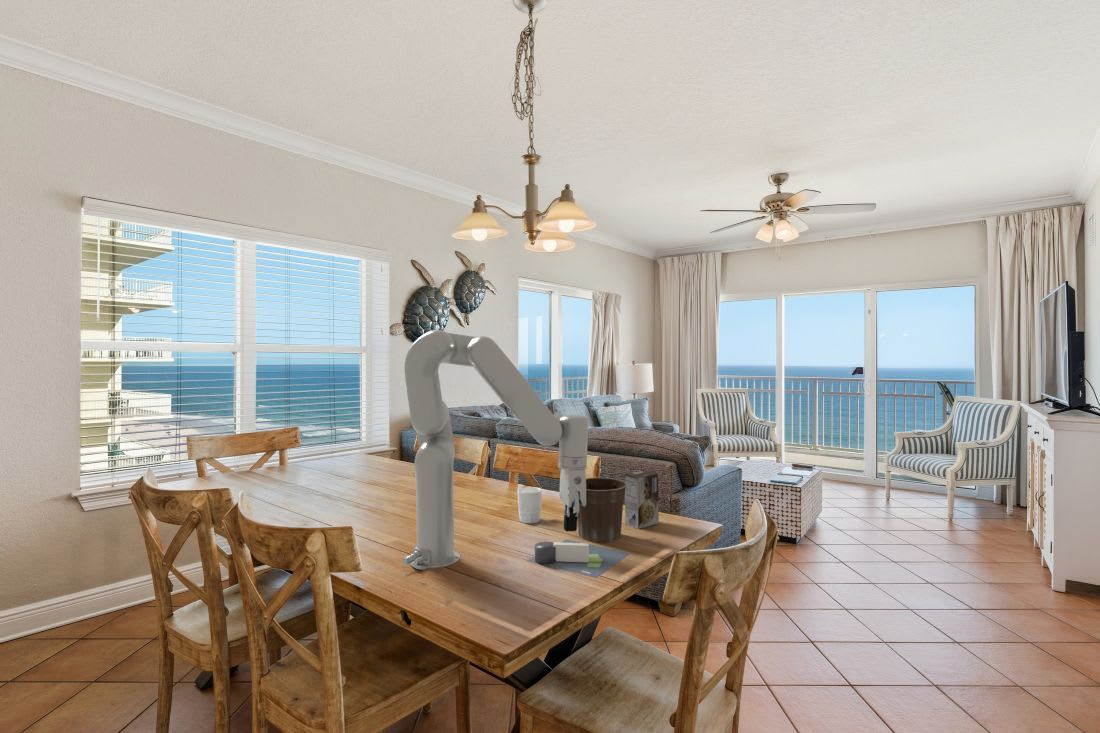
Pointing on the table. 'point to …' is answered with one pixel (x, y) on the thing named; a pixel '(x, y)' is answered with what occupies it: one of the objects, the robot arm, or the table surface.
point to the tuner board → (590, 568)
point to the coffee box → (641, 499)
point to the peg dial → (562, 552)
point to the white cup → (529, 504)
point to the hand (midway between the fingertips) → (570, 530)
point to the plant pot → (602, 510)
